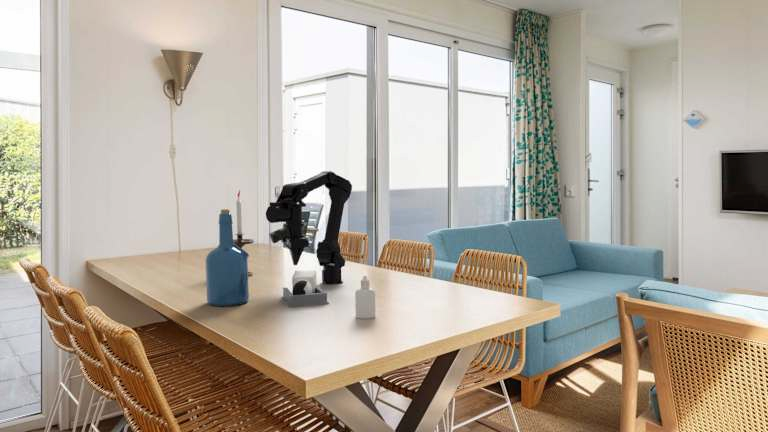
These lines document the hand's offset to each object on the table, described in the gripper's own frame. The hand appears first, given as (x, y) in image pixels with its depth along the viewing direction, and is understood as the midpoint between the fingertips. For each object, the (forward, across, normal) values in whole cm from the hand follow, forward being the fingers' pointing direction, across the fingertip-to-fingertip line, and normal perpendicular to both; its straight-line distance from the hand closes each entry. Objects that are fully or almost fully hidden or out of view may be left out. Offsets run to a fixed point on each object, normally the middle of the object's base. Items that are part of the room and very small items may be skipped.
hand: (295, 265), depth 194 cm
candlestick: (+10, -40, -14) cm, 44 cm away
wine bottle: (+9, +8, -23) cm, 26 cm away
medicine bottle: (+4, +7, +2) cm, 9 cm away
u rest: (+9, +15, -1) cm, 18 cm away
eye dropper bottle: (+9, +44, +11) cm, 46 cm away
